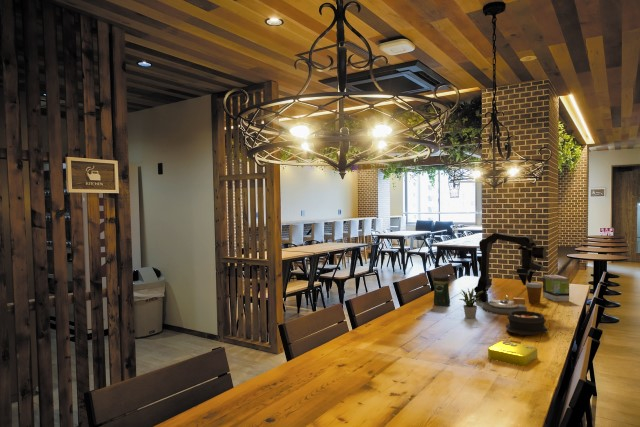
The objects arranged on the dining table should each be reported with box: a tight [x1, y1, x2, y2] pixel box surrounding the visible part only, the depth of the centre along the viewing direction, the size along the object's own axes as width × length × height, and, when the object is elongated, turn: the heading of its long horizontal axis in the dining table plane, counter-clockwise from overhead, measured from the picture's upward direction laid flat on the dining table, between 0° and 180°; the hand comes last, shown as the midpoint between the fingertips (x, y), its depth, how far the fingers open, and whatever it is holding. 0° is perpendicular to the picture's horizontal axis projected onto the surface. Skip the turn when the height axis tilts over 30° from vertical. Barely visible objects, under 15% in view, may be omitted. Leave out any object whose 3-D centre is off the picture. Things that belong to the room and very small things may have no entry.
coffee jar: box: [432, 274, 451, 307], centre depth 272 cm, size 10×8×19 cm
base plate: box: [481, 301, 528, 316], centre depth 256 cm, size 24×24×2 cm
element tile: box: [487, 340, 538, 367], centre depth 176 cm, size 15×15×5 cm
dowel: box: [504, 294, 510, 301], centre depth 264 cm, size 2×2×4 cm
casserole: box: [505, 310, 549, 336], centre depth 211 cm, size 25×19×8 cm
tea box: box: [542, 274, 570, 302], centre depth 282 cm, size 15×10×15 cm
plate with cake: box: [489, 297, 526, 309], centre depth 256 cm, size 19×16×5 cm
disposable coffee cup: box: [525, 281, 543, 304], centre depth 274 cm, size 10×10×12 cm
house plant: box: [458, 288, 483, 319], centre depth 239 cm, size 14×14×16 cm
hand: (527, 284), depth 258 cm, fingers open, 9 cm apart
